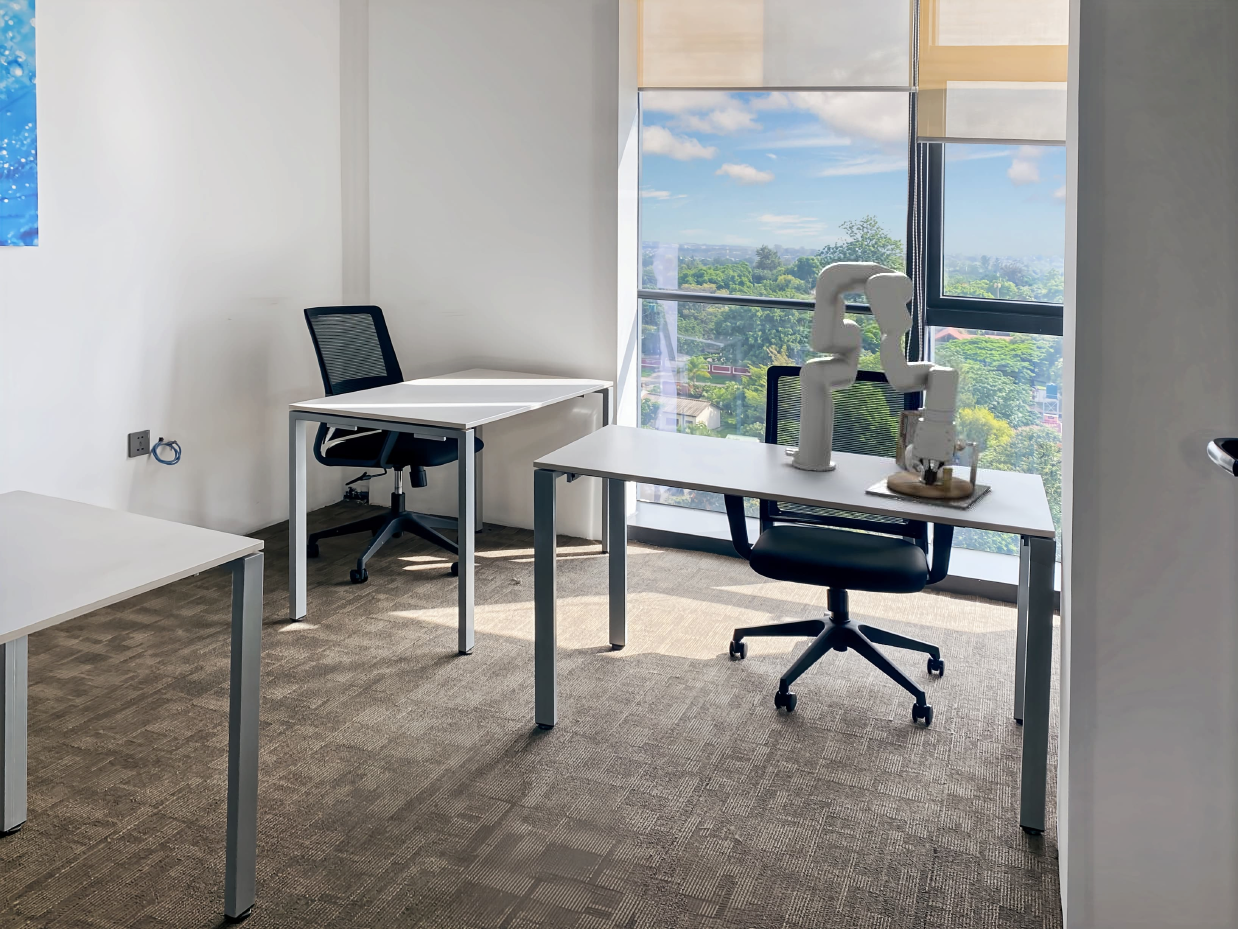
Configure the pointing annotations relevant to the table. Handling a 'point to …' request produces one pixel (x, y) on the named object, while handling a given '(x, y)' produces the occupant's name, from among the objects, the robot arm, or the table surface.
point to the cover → (939, 475)
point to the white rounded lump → (910, 461)
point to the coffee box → (906, 434)
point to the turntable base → (954, 503)
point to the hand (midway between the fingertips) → (929, 484)
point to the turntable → (913, 486)
